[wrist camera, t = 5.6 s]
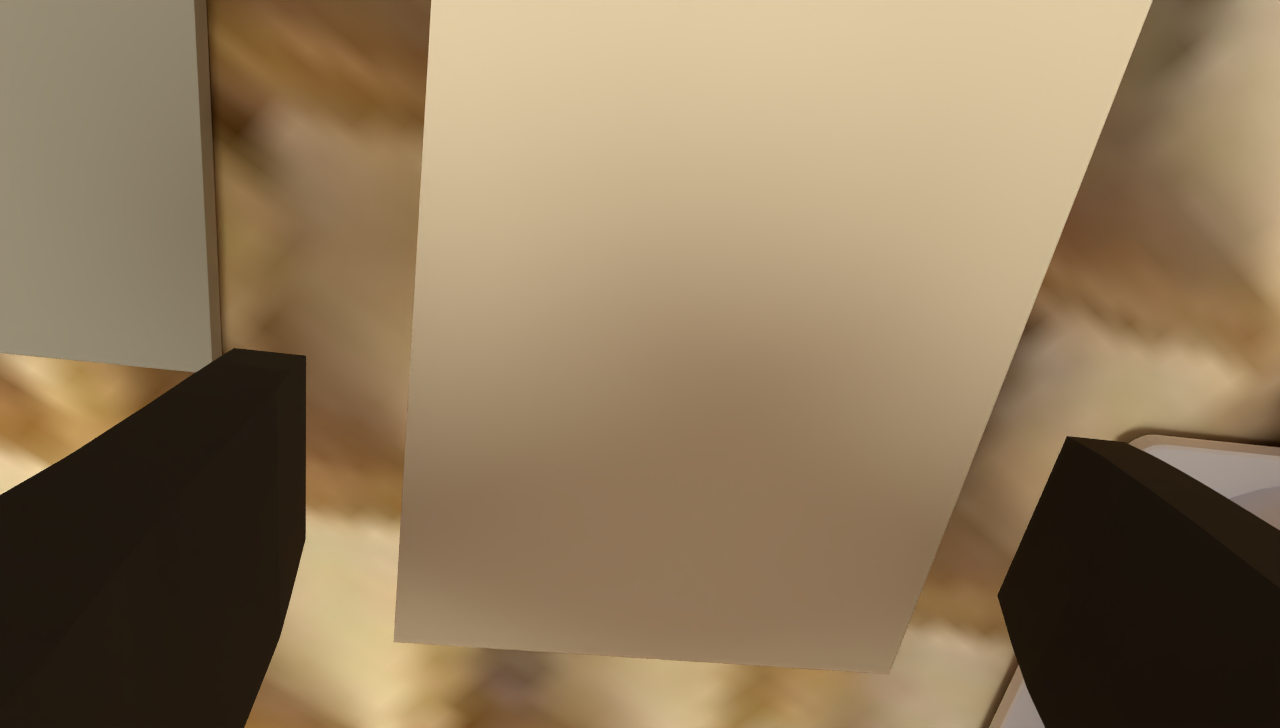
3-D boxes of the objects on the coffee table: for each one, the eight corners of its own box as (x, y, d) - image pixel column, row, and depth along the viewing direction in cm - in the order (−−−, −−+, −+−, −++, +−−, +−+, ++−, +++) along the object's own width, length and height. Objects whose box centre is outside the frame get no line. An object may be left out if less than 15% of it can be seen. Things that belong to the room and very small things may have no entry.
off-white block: (767, 346, 16) (888, 674, 10) (457, 311, 16) (394, 641, 10) (959, -412, 12) (1394, -619, 6) (524, -509, 11) (482, -868, 5)
